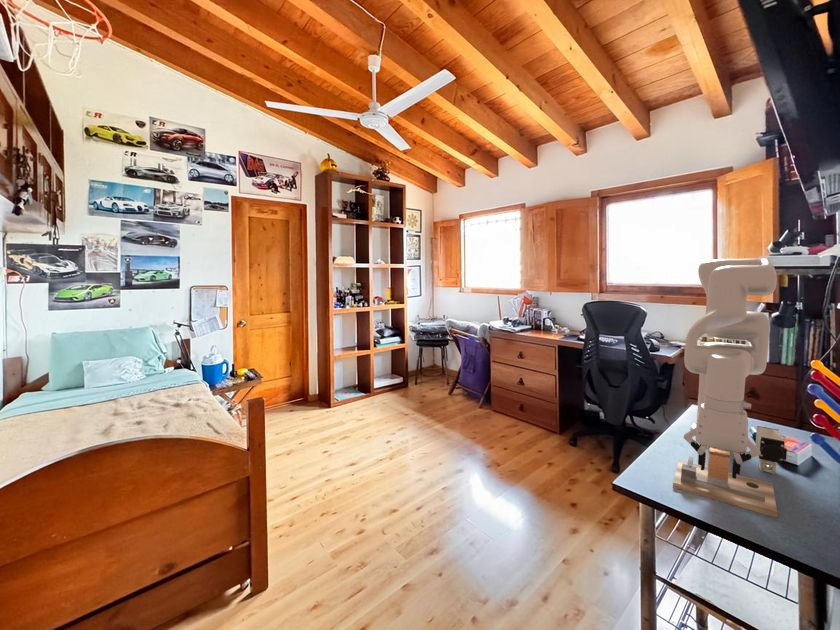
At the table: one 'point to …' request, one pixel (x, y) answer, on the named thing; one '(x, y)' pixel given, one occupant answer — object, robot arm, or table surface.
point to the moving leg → (718, 467)
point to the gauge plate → (737, 492)
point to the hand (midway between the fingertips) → (718, 471)
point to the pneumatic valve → (770, 448)
